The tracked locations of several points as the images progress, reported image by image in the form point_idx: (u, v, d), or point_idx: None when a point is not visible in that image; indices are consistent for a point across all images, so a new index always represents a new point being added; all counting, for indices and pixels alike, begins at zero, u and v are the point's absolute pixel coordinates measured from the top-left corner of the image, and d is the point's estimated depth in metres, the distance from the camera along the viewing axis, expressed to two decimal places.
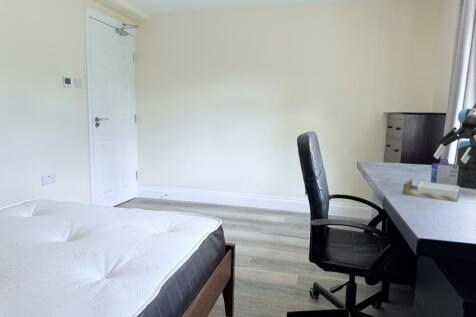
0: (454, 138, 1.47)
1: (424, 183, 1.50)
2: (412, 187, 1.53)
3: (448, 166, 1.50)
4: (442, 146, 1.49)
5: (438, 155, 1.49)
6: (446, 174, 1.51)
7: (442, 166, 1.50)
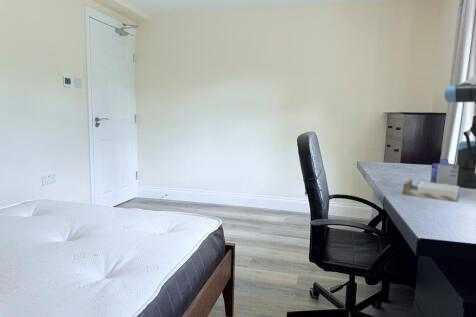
0: None
1: (424, 183, 1.50)
2: (412, 187, 1.53)
3: (448, 166, 1.50)
4: None
5: None
6: (446, 174, 1.51)
7: (442, 166, 1.50)
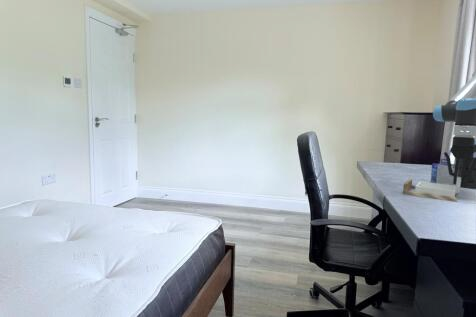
0: (458, 162, 1.36)
1: (422, 183, 1.50)
2: (412, 187, 1.53)
3: None
4: None
5: None
6: (446, 174, 1.51)
7: (442, 166, 1.50)
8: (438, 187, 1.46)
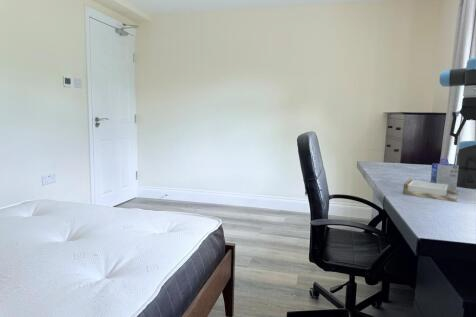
0: None
1: (414, 182, 1.52)
2: None
3: (448, 166, 1.50)
4: (459, 139, 1.34)
5: (458, 150, 1.36)
6: (446, 174, 1.51)
7: (442, 166, 1.50)
8: (430, 186, 1.48)
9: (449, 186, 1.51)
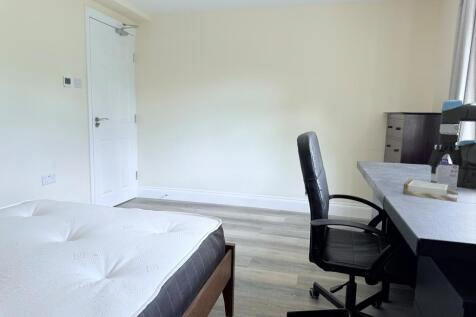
0: None
1: (414, 182, 1.52)
2: None
3: (448, 166, 1.50)
4: None
5: None
6: (446, 174, 1.51)
7: (442, 166, 1.50)
8: (430, 186, 1.48)
9: (449, 186, 1.51)
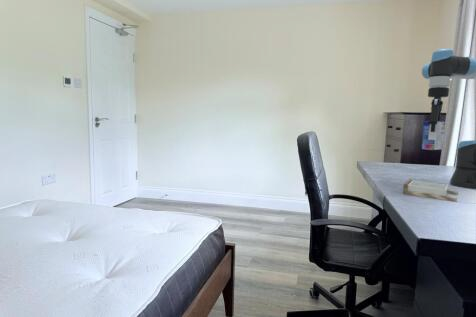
0: None
1: (414, 182, 1.52)
2: None
3: (440, 123, 1.38)
4: None
5: None
6: (439, 131, 1.38)
7: (438, 123, 1.36)
8: (430, 186, 1.48)
9: (440, 144, 1.40)
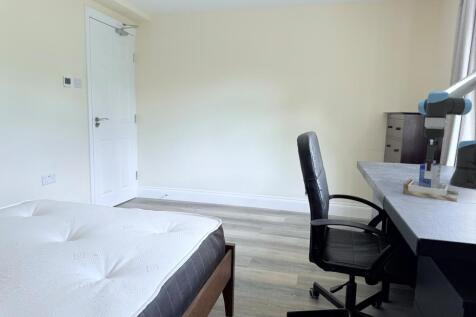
0: None
1: (414, 182, 1.52)
2: None
3: (436, 166, 1.40)
4: None
5: None
6: (435, 175, 1.40)
7: (434, 167, 1.38)
8: None
9: (436, 187, 1.42)
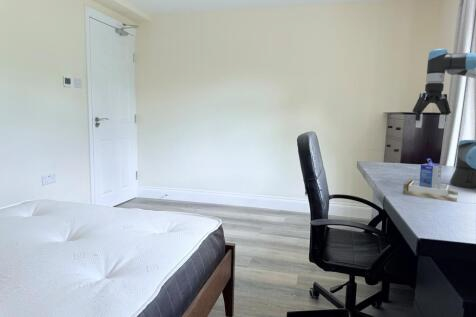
0: None
1: (415, 182, 1.52)
2: None
3: (437, 166, 1.40)
4: None
5: None
6: (436, 175, 1.40)
7: (435, 167, 1.38)
8: None
9: (437, 187, 1.42)
